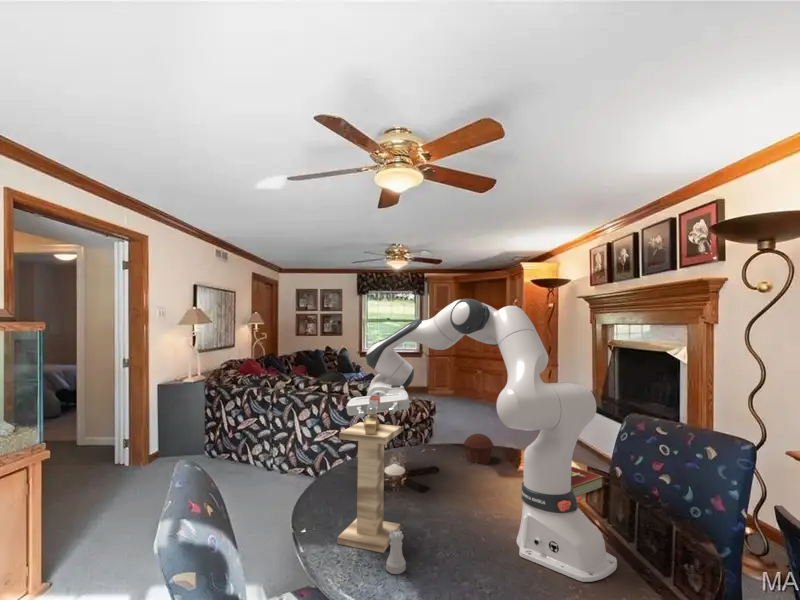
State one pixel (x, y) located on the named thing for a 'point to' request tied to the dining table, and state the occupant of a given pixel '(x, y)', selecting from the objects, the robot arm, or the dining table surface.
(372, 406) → the valve lever
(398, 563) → the rook chess piece
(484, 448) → the muffin
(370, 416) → the stand
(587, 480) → the hardcover book
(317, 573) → the dining table surface
